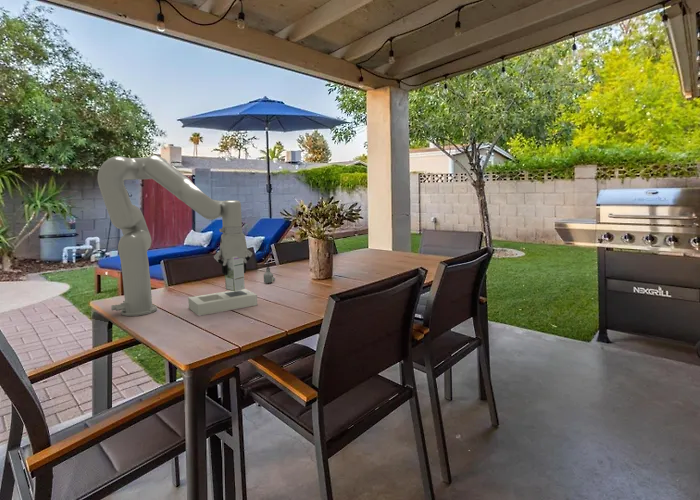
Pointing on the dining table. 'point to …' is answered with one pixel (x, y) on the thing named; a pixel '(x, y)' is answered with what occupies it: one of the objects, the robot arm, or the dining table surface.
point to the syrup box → (235, 274)
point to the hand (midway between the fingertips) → (234, 273)
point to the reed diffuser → (267, 269)
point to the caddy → (222, 301)
